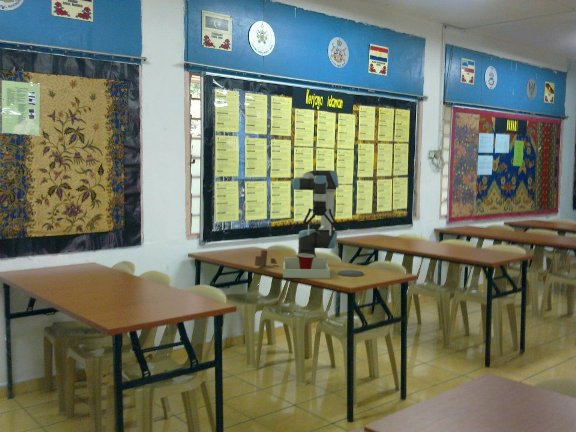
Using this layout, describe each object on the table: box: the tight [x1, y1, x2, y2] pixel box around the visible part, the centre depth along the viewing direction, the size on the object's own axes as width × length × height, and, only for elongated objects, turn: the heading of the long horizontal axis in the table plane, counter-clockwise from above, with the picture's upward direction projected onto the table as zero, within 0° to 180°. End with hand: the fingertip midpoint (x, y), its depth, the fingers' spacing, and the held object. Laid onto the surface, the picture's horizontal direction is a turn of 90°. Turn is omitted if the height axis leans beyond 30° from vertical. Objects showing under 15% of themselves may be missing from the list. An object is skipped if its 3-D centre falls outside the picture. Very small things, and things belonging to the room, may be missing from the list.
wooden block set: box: [254, 249, 278, 267], centre depth 399 cm, size 18×9×10 cm, turn 145°
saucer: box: [337, 269, 365, 278], centre depth 375 cm, size 16×16×1 cm
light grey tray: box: [282, 256, 331, 279], centre depth 375 cm, size 28×28×8 cm
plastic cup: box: [296, 253, 315, 269], centre depth 375 cm, size 11×11×12 cm
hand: (319, 235), depth 371 cm, fingers open, 13 cm apart
